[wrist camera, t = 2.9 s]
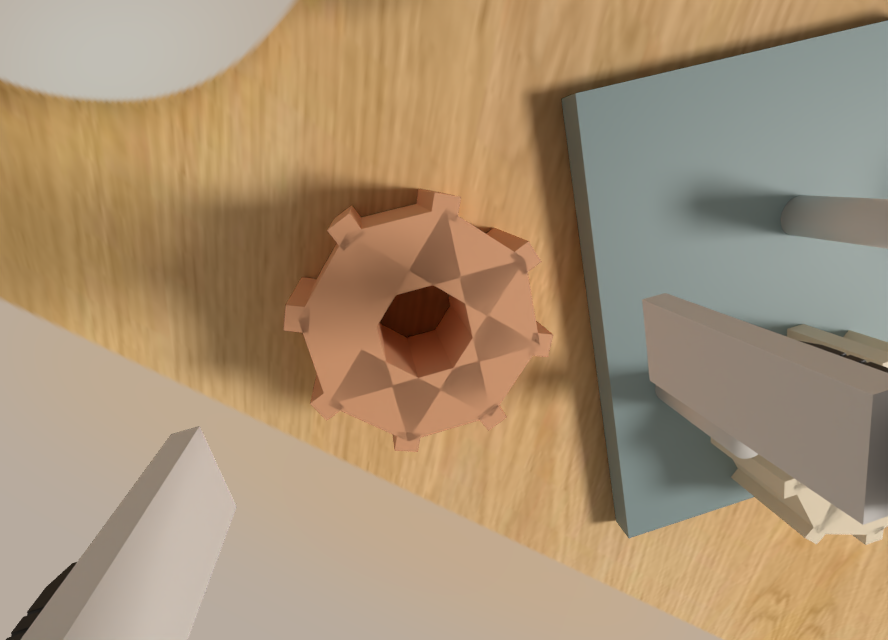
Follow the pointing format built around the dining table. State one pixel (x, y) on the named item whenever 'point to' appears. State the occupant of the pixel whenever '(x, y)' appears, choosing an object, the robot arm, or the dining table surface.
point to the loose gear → (428, 354)
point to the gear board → (731, 249)
